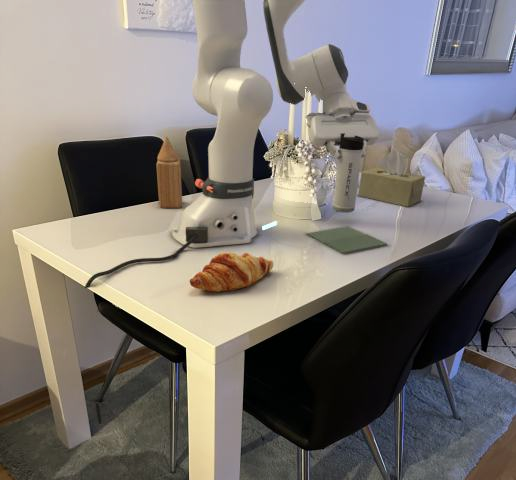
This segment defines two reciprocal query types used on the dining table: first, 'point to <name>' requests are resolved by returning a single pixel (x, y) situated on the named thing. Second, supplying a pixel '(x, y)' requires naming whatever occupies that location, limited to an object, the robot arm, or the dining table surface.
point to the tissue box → (392, 181)
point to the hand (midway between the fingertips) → (350, 157)
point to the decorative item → (169, 177)
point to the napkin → (347, 240)
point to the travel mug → (347, 173)
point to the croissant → (231, 272)
